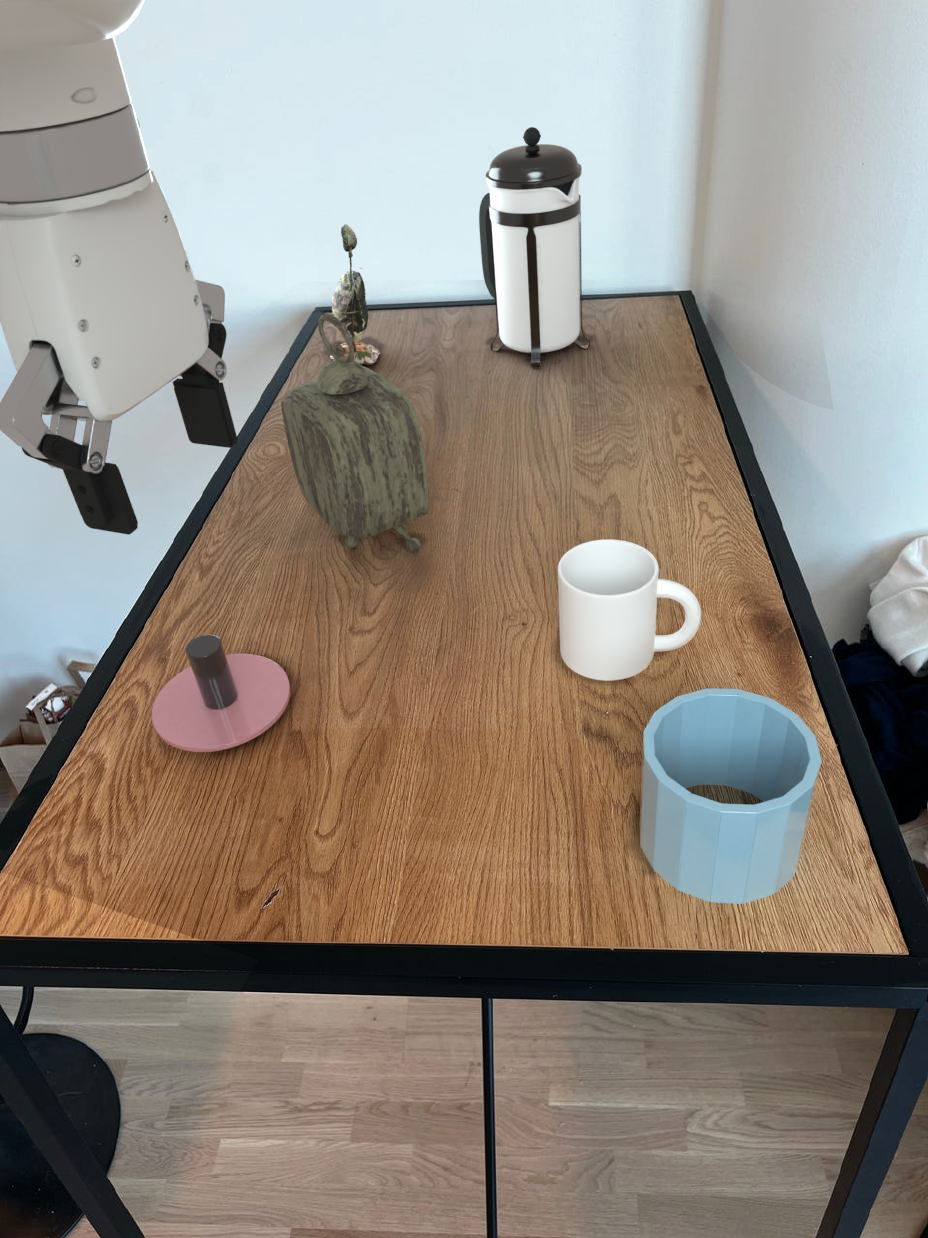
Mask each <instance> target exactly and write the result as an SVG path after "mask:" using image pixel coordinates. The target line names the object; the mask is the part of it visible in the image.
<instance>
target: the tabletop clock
mask: <svg viewBox="0 0 928 1238" xmlns="http://www.w3.org/2000/svg"><path fill="white" fill-rule="evenodd" d="M325 321H326V322H328V323H329V324H331V325H333V326H334V327H335V328H336V329H338V331H339V332H340V334H341V336H343V338H344V340H345V342H347V344H348V347H349V356H345V355H344V352H343V347H342V346H341V345H340V344H339V343H336V344H334V345H332V344H331V343H330V342H329V340H328V339H327V337H326V335H325V332H324V324H325ZM317 327H318V332H319V336H320V339H321V341H322V343H323V345H324V347H325V349H326V350H327V351H328V353H329V355H330V356H331V355H332V356H333V357H334V359H333V360H334V361H333V360H331V361H329V362H328V363H327V364H326V365H324V366H323V368H322V369H321V370H320V372H319V374H318V377H317V379H314V380H311V381H308V382H305V383H301V384H299V385H296V386H293V387H292V388H291V389H290V390H289V391H288V393H287V394H286V395H285V396H284V398H283V399H282V400H281V401H280V403H281V414H282V420H283V426H284V430H285V435H286V440H287V444H288V449H289V453H290V458H291V461H292V466H293V470H294V473H295V477H296V480H297V483H298V487H299V490H300V492H301V494H302V497H303V498H304V499H305V501H306V503H308V505H309V506H310V507H311V508H312V509H313V510H314V511H315V512H316V513H317V514H318V515H319V517H320V518H321V519H322V520H323V521H324V522H325V523H326V524H327V525H329V526H330V527H331V528H332V529H334V530H335V531H336V532H337V533H338V534H340V535H341V536H344V543H345V546H346V547H348V548H349V549H355V548H356V547H358V546H359V544H360V539H369V538H372V537H373V536H376V535H379V534H382V533H384V532H386V531H388V530H391V529H392V530H394V531H396V532H397V534H398V535H400V537H402V538H403V539H404V541H405V548H406V551H408V552H410V553H414V554H415V553H417V552H419V550H420V549H421V546H422V545H421V542H420V539H418V538H417V537H412V536H410V535H409V534H408V532H407V531H406V530H405V528H404V527H403V524H406V523H407V522H411V521H413V520H415V519H418V518H420V517H422V516H425V515H428V512H429V505H430V503H429V502H430V500H429V499H430V498H429V495H430V494H429V482H428V472H427V470H428V469H427V463H426V457H425V450H424V444H423V438H422V433H421V429H420V424H419V420H418V417H417V414H416V410H415V407H414V404H413V403H412V402H411V400H410V399H409V397H408V396H407V395H406V394H405V393H404V392H403V391H402V390H401V389H400V388H399V387H398V386H396V385H395V384H393V383H392V382H391V381H390V380H388V378H386V377H384V375H382V374H380V373H378V372H377V371H374V370H373V369H371V368H368V367H366V366H364V365H362V364H359V363H358V362H356V361H354V360H353V358H354V348H353V344H352V340H351V337H350V336H351V334H350V332H349V331H348V330H347V329H346V328H345V326H344V325H343V324H342V323H341V322H340V321H339V320H338V319H337V318H335V317H334V315H333V314H329V313H323V314H321V315H320V316H319V318H318V321H317Z"/></svg>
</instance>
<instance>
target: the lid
mask: <svg viewBox="0 0 928 1238" xmlns="http://www.w3.org/2000/svg"><path fill="white" fill-rule="evenodd" d="M184 652H185V655H186V657H187V661H188V663H189V665H190V666H188V667H186V668H185V669H183V670H182V671H180V672H179V673H177V674H176V675H174V676H173V677H172V678H171V679H170V680H169V681H168V682H166V684H165V685H164V686H163V687H162V688H161V689H160V691H159V692H158V694H157V696H156V697H155V699H154V702H153V705H152V708H151V722H152V725H153V728H154V730H155V732H156V734H157V735H158V737H160V739H161V740H162V741H163V742H165V743H167V744H168V745H170V746H172V747H174V748H176V749H178V750H181V751H188V752H191V753H211V752H218V751H224V749H225V750H230V749H232V747H233V748H236V747H239V746H241V745H244V744H245V743H248V742H250V741H251V740H253V739H255V738H258V737H259V736H260V735H262V734H263V733H265V732H267V730H269V729H270V728H271V727H272V726H273V725H274V724H276V723H277V721H278V720H279V719H280V718H281V716H282V715H283V713H284V712H285V711H286V708H287V707H288V704H289V702H290V698H291V683H290V680H289V677H288V674H287V673H286V671H285V670H284V669H283V668H282V666H280V664H278V663H277V662H276V661H274V660H271V659H270V658H267V657H265V656H261V655H258V654H252V653H230V654H228V653H226V651H225V648H224V646H223V642H222V639H221V638H220V637H219V636H217V635H215V634H202V635H199V636H196V637H194V638H193V639H191V640H189V642H188V643H187V644H186V646H185V650H184ZM243 743H244V744H243ZM238 745H239V746H238ZM235 746H236V747H235ZM229 748H230V749H229Z"/></svg>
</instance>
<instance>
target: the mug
mask: <svg viewBox="0 0 928 1238" xmlns="http://www.w3.org/2000/svg"><path fill="white" fill-rule="evenodd" d="M659 570H660V569H659V563H658V560H657V559H656V557H655V556H654V555H653V554H652V553H651V552H650V551H649V550H648V549H647V548H645V547H643V546H641V545H639V544H637V543H634V542H631V541H626V540H622V539H621V540H620V539H613V538H612V539H608V538H607V539H597V540H590V541H586V542H583V543H580V544H577V545H575V546H573V547H571V548H570V549H569V550H567V551H566V552H565V553H564V554H563V555H562V556H561V558H560V560H559V562H558V565H557V585H558V586H557V587H558V588H557V589H558V592H557V593H558V617H559V618H558V619H559V646H560V647H559V649H560V650H559V651H560V656H561V659H562V660H563V662H564V664H565V665H566V666H567V667H568V668H569V669H570V670H572V671H573V672H574V673H576V674H578V675H580V676H583V677H584V678H588V679H591V680H596V681H609V682H611V681H620V680H624V679H628V678H631V677H634V676H636V675H638V674H640V673H641V672H643V671H644V670H645V669H646V668H648V666H649V665H650V664H651V662H653V659H654V656H655V652H657V653H658V652H659V653H661V652H670V651H674V650H677V649H679V648H682V647H683V646H685V645H687V644H688V643H689V642H690V641H691V640H692V639H693V638H694V637H695V636H696V634H697V633H698V631H699V629H700V625H701V621H702V609H701V604H700V603H699V600H698V598H697V597H696V595H695V594H694V592H692V590H691V589H689V588H688V587H687V586H685V585H683V584H681V583H679V582H677V581H673V580H671V579H665V578H659V574H660V573H659ZM658 598H663V599H670V600H674V601H676V602H677V603H679V604H680V605H681V606H682V608H683V610H684V615H685V617H684V622H683V624H682V626H681V627H680V629H678V630H677V631H675V632H674V633H671V634H656V631H657V610H658Z"/></svg>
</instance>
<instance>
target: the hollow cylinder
mask: <svg viewBox="0 0 928 1238" xmlns="http://www.w3.org/2000/svg"><path fill="white" fill-rule="evenodd" d="M817 740H818V739H817V736H816V735H815V734H814V732H813V731H812V730H811V728H810V727H809V726H808V725H807V724H806V723H805V721H804V720H803V719H802V718H801V717H800V715H798V714H797V713H796V712H794V711H793V710H791V709H790V708H788V707H786V706H785V705H783V704H781V703H780V702H778V701H776V700H775V699H773V698H771V697H768V696H765V695H762V694H758V693H754V692H750V691H747V690H743V689H739V688H710V687H709V688H702V689H699V690H696V691H691V692H688V693H684V694H681V695H677V696H675V697H673V698H672V699H671V700H669V701H668V702H666V703H665V704H664V705H661V707H659V708H658V709H657V710H655V711H654V712H653V714H652V716H651V717H650V720H649V721H648V723H647V725H646V727H645V729H644V730H643V733H642V754H641V755H642V758H641V779H640V781H641V782H640V802H639V846H640V848H641V851H642V852H643V854H644V856H645V857H646V860H647V861H648V863H649V864H650V865H649V866H650V867H651V868H652V870H653V871H654V872H655V873H656V874H657V875H659V876H660V877H661V878H662V879H663V880H664V881H666V882H667V883H668V884H670V885H671V886H672V887H673V888H674V889H675V890H677V891H679V892H682V893H684V894H687V895H689V896H692V897H695V898H697V899H700V900H702V901H705V902H707V903H716V904H738V905H743V904H748V903H752V902H754V901H758V900H762V899H764V898H767V897H771V896H773V895H775V894H777V892H778V891H780V890H781V889H782V888H783V887H784V886H785V885H786V884H787V883H789V882H790V881H791V880H792V879H793V878H794V877H795V875H796V873H797V869H798V866H799V863H800V861H801V857H802V855H803V850H804V846H805V842H806V837H807V833H808V827H809V822H810V818H811V813H812V809H813V804H814V799H815V794H816V790H817V786H818V781H819V776H820V771H821V767H822V757H821V753H820V748H819V743H818V741H817ZM696 786H726V787H729V788H733V789H735V790H739V791H742V792H745V793H748V794H752V795H753V796H754V797H755V798H757V799H759V800H760V801H761V802H759V803H755V804H749V803H748V804H745V803H723V802H719V801H716V800H712V799H711V798H707V797H705V796H701V795H698V794H694V793H692V792H691V791H689V790H688V789H690V788H692V787H693V788H694V787H696Z"/></svg>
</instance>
